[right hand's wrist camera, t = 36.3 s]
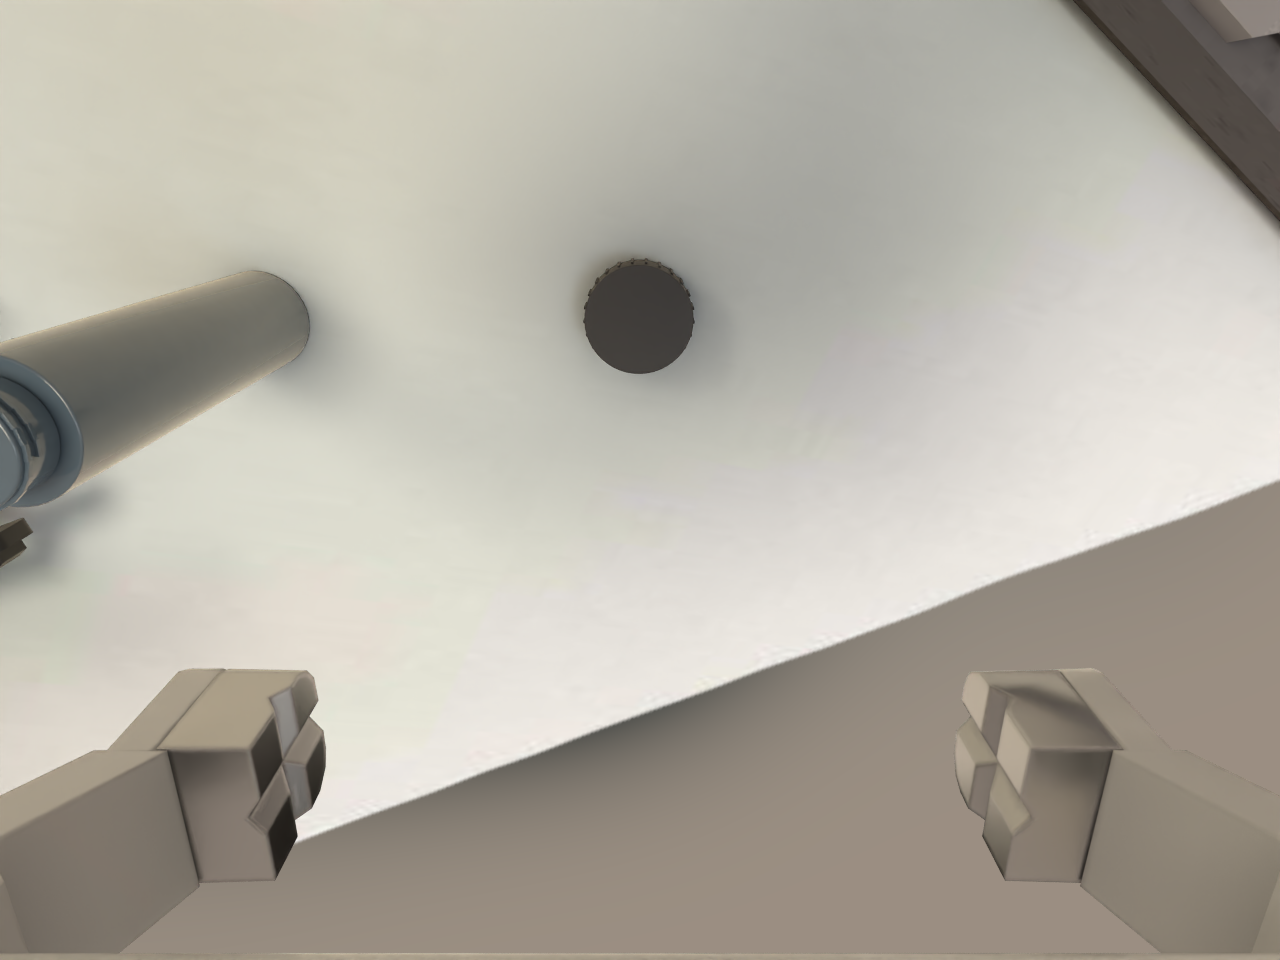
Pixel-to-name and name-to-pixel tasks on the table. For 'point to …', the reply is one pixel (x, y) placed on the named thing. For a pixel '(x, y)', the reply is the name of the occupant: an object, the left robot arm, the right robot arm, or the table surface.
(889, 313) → the table surface
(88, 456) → the blue-grey bottle
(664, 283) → the lid
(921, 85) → the table surface
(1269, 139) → the toy
